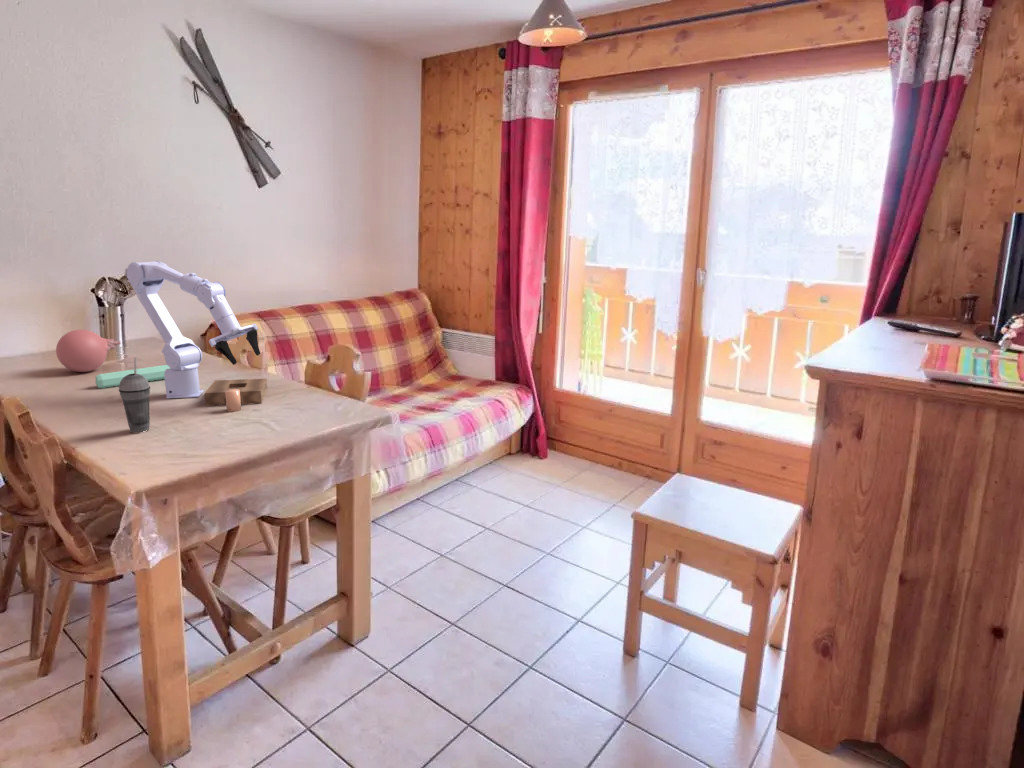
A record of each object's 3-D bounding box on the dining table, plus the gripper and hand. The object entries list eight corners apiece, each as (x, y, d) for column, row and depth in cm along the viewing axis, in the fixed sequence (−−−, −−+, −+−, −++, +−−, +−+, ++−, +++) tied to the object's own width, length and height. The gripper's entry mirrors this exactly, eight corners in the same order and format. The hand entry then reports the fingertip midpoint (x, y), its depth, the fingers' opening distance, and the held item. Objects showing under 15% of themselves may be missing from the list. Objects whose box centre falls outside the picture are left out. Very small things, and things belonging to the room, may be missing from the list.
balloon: (126, 371, 235) (121, 330, 231) (60, 378, 223) (53, 335, 220) (121, 363, 247) (116, 324, 243) (58, 370, 235) (51, 328, 231)
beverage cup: (132, 426, 175) (123, 354, 170) (160, 426, 175) (151, 354, 170) (118, 435, 168) (108, 360, 163) (147, 434, 168) (138, 360, 163)
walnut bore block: (205, 405, 195) (204, 393, 194) (216, 392, 210) (214, 380, 209) (261, 403, 199) (260, 390, 198) (267, 390, 214) (266, 378, 213)
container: (94, 371, 209) (176, 360, 226) (91, 375, 214) (172, 364, 230) (99, 389, 209) (180, 376, 226) (96, 392, 213) (176, 379, 230)
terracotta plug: (225, 412, 189) (223, 392, 188) (228, 408, 193) (226, 389, 191) (240, 411, 190) (238, 392, 189) (242, 407, 194) (240, 388, 192)
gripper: (204, 322, 186) (227, 364, 187) (251, 307, 196) (272, 346, 196) (200, 330, 192) (221, 370, 193) (245, 315, 201) (266, 353, 202)
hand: (247, 359), depth 195 cm, fingers open, 7 cm apart
